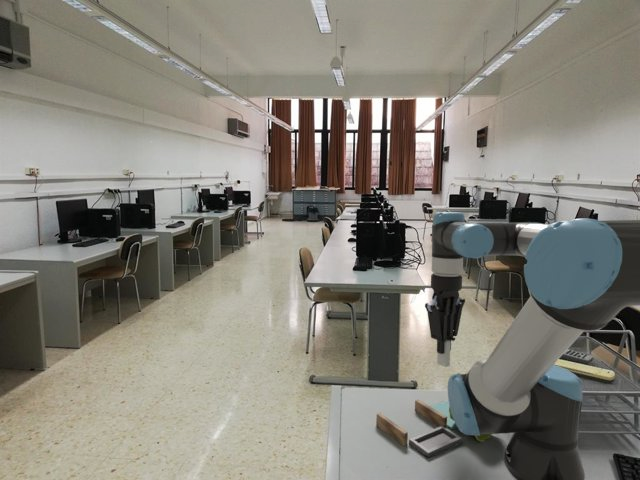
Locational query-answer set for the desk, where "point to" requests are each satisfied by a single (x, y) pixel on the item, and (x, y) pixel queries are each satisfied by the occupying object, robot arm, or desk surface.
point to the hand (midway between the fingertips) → (443, 364)
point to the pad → (445, 413)
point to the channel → (401, 433)
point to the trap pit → (435, 441)
